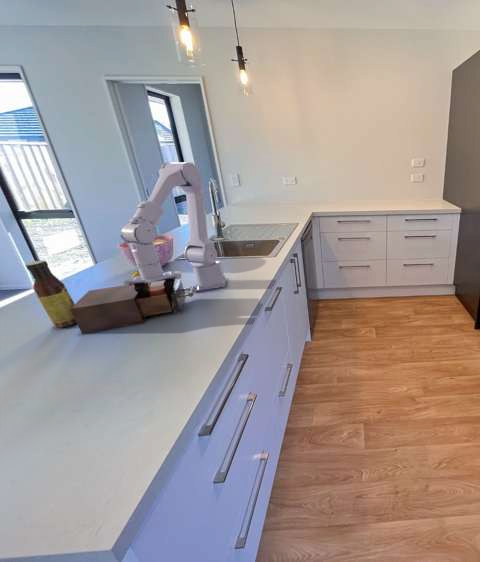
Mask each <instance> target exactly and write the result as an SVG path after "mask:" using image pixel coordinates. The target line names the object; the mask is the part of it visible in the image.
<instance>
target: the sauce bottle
mask: <svg viewBox="0 0 480 562" xmlns="http://www.w3.org/2000/svg"><path fill="white" fill-rule="evenodd" d="M25 267H26V269H27V270H28V271H29V272H30V274H31V276H32V278H33V279H34V282H33V285H32V289H33V291H34V293H35V295H36V296H37V299H38V300H39V303H40V304H41V306H42V307H43V309H44V311H45V313H46V314H47V316H48V318H49V320H50V321H51V323H52V324H53V325H54V327H55V328H59V329H62V328H68V327H71V326H73V325H76V324H77V322H76V320H75V318H74V316H73V314H72V312H71V310H70V308H71V307H72V306H74V305H75V304H76V303H75V302H74V300H73V298H72V296H71V294H70V293H69V291H68V289H67V286H66V285H65V284H64V282H63V281H61V280H60V279H59V278H58V277H56V276H55V274H53V272H52V271H51V269H50V267H49V264H48V262H47V260H44V259H42V260H35V261H31V262H28V263H26V264H25Z"/></svg>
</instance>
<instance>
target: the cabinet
mask: <svg viewBox="0 0 480 562" xmlns="http://www.w3.org/2000/svg"><path fill="white" fill-rule="evenodd" d="M134 287H135V286H134V285H131V286H128V287H126V286H125V284H123V285H118V286H110V287H103V288H98V289H89V290H88V291H87V292H86V293H85V294H84V295H83V296H82V297H81V298H80V299H79V300H78V301H76V303H74V304H75V305H74V306H72V307H71V308H70V310H71V312H72V314H73V316H74V318H75V320H76V322H77V323H76V324H77V326H78V328H79V330H80V333H81V335H83V334H88V333H89V334H90V333H94V332H101V331H106V330H111V329H116V328H121V327H127V326H131V325H136V324H142V323H144V322H145V320H146V318H147V316H144V317H142V315H141V313H140V310H139V308H138V305H137V303H136V298H137V297H138V295H139V293H138V292H137V291H135V290H134Z"/></svg>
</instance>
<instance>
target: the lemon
mask: <svg viewBox="0 0 480 562" xmlns="http://www.w3.org/2000/svg"><path fill="white" fill-rule="evenodd" d="M137 276H141V275H140V272H139V270H136V272H134V273H133V274H132V275H131V277H130V278H133V277H137ZM148 286H152V282H151V283H148Z"/></svg>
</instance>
